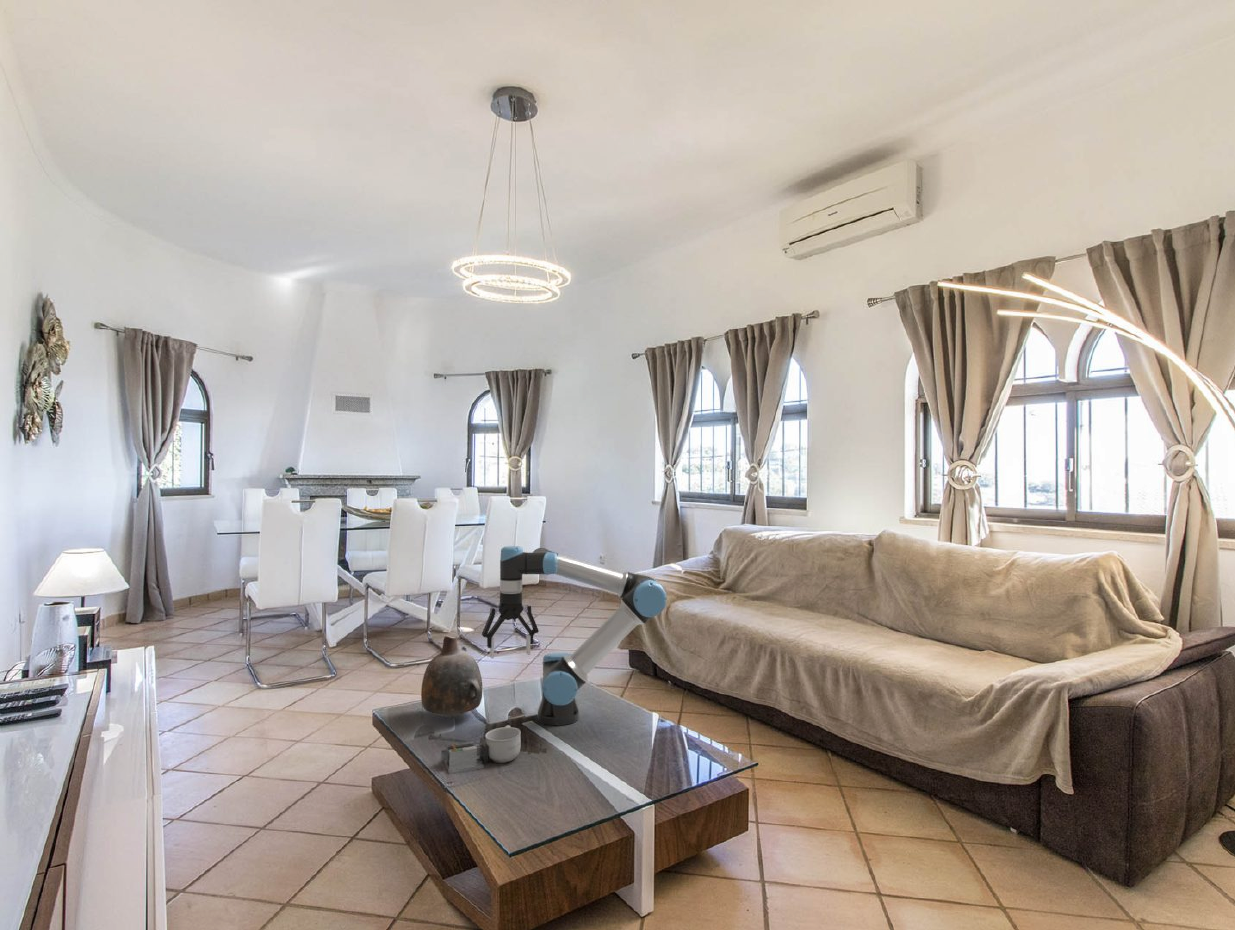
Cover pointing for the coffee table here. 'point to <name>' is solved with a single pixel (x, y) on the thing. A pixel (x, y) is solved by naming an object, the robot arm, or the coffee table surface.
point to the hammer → (481, 748)
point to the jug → (451, 682)
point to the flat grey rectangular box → (463, 758)
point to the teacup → (503, 743)
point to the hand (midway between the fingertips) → (510, 655)
